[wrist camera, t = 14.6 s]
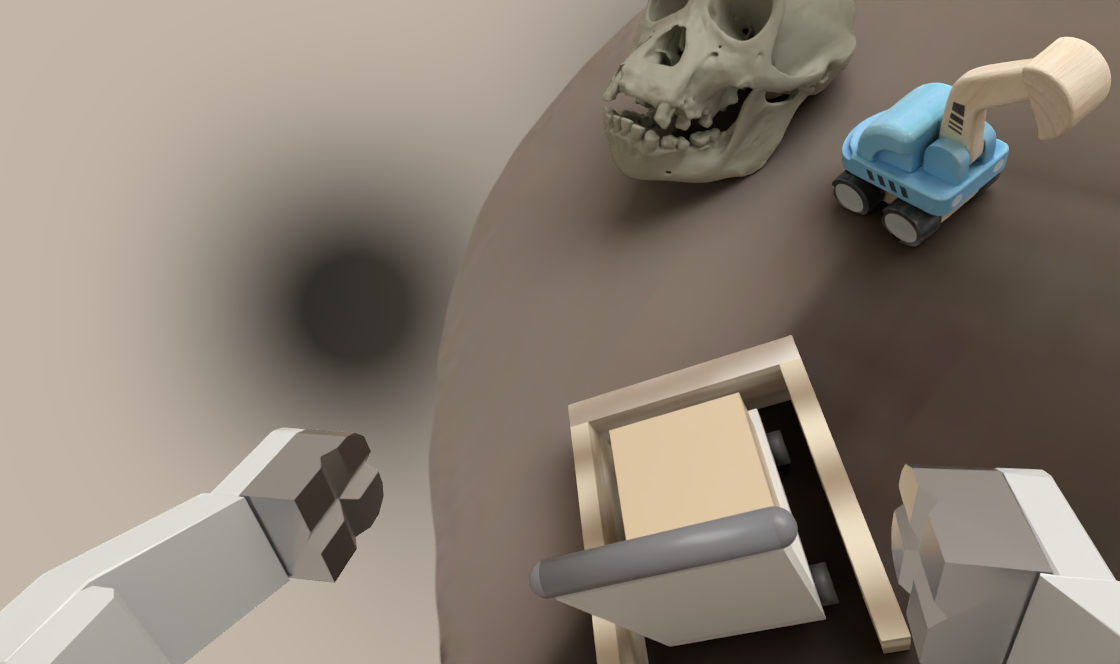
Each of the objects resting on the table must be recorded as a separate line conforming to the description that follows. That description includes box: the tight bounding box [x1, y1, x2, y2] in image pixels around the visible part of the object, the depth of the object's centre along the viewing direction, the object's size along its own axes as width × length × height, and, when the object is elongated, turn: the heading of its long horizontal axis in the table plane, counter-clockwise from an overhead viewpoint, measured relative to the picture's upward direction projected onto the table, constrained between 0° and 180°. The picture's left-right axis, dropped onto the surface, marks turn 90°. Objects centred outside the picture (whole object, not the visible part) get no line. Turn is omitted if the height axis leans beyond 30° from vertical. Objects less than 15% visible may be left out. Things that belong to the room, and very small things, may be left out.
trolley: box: [529, 392, 839, 647], centre depth 36 cm, size 14×12×22 cm
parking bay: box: [568, 335, 911, 664], centre depth 43 cm, size 20×18×6 cm
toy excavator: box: [832, 37, 1111, 246], centre depth 44 cm, size 9×17×17 cm, turn 32°
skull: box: [602, 0, 856, 183], centre depth 60 cm, size 18×21×28 cm
